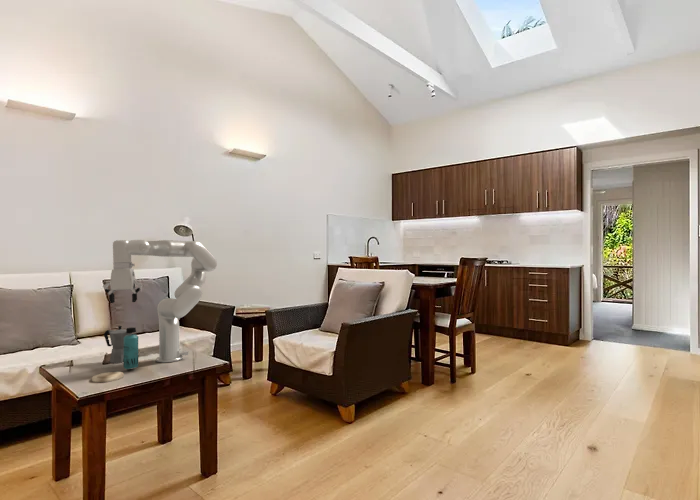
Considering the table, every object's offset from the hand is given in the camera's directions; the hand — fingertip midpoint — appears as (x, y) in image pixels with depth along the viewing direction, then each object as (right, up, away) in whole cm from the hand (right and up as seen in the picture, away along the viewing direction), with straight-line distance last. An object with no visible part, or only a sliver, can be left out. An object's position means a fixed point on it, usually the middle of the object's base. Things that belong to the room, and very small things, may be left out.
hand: (123, 302), depth 196 cm
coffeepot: (-12, -32, +16) cm, 38 cm away
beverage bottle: (+4, -32, -1) cm, 32 cm away
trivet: (+1, -32, -14) cm, 35 cm away
